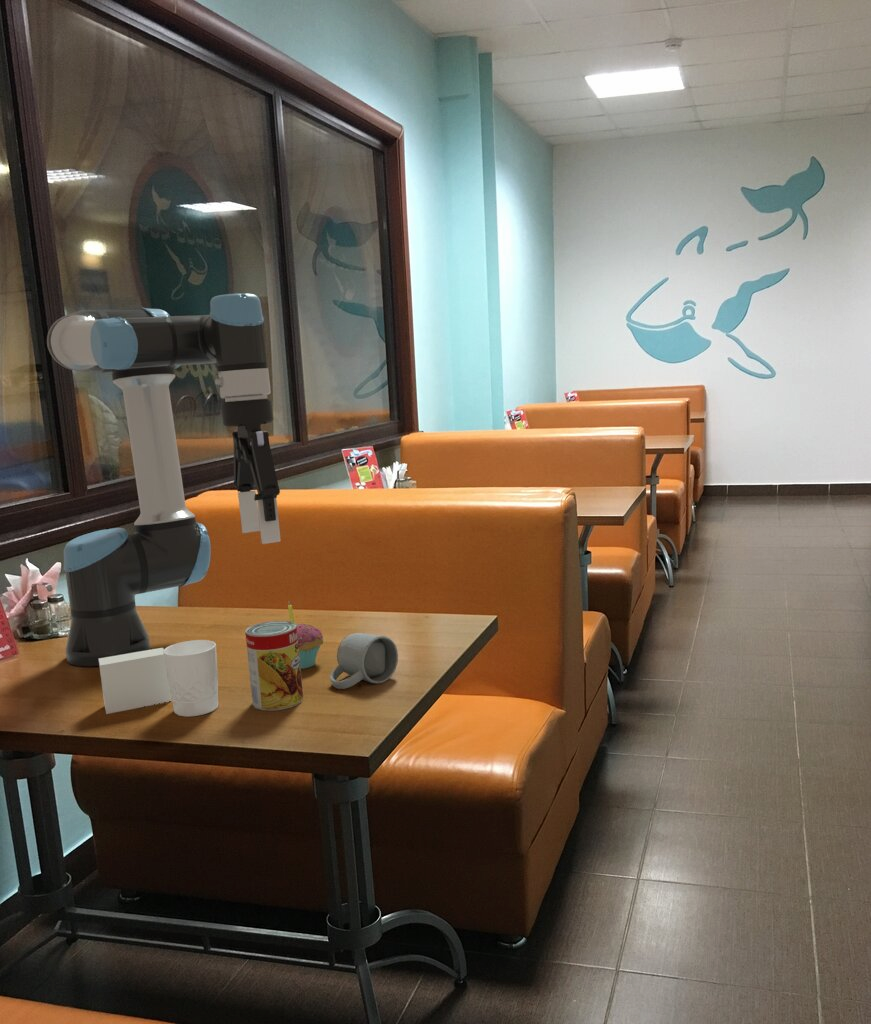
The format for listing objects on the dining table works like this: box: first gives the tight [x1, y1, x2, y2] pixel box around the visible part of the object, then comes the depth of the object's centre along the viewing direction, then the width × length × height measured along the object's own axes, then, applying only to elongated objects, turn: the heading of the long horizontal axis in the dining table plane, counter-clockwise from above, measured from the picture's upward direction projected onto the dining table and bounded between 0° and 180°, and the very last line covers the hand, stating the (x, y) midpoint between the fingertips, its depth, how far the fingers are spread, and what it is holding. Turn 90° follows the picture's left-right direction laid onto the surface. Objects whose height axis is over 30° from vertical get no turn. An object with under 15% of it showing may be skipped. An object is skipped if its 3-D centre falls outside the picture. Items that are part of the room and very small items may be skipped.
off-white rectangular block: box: [99, 647, 173, 715], centre depth 151 cm, size 4×10×8 cm, turn 113°
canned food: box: [244, 620, 304, 712], centre depth 148 cm, size 8×8×12 cm
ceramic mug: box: [329, 632, 399, 690], centre depth 155 cm, size 11×8×8 cm
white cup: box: [163, 639, 219, 718], centre depth 147 cm, size 8×8×10 cm
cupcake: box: [287, 601, 324, 670], centre depth 165 cm, size 9×8×12 cm
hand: (260, 537), depth 146 cm, fingers open, 13 cm apart
